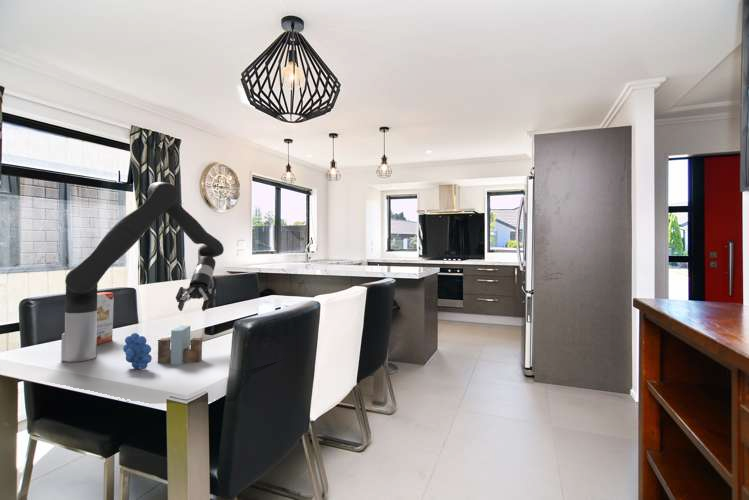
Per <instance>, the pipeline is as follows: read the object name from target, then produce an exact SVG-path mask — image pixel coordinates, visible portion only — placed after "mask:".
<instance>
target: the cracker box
mask: <svg viewBox="0 0 749 500" xmlns="http://www.w3.org/2000/svg"><path fill="white" fill-rule="evenodd" d="M114 299H115V292H108V291H107V292H106V291H105V292H104V291H103V292H97V342H96V345H98V344H99V345H100V344H103V343H107V342H111V341H113V329H114V303H115V300H114Z"/></svg>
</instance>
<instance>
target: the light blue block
mask: <svg viewBox="0 0 749 500" xmlns="http://www.w3.org/2000/svg"><path fill="white" fill-rule="evenodd" d="M170 332H171V333H170V334H171V336H170V349H171V363H170V365H171V366H173V365H174V366H177V365H178V366H179V365H182V364H184V362H183V350H185V349H191V325H179V326H177V327H175V328H173V329H171V331H170Z"/></svg>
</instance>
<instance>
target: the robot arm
mask: <svg viewBox="0 0 749 500" xmlns="http://www.w3.org/2000/svg"><path fill="white" fill-rule="evenodd" d="M178 199H179V190H178V188H177V187H176V186H175V185H174V184H172V183H170V182H164V181H156V182H153V183H151V184H150V185H149V186H148V189H147V199H146V200H145V201H144V202H143V203H142V204H141V205H140V206H139V207H138V208H136V209H135V210H133V211H132V212H130V213H128V214H126V216H124V217H122V218H121V219H120V220H119V221H118V222H117V223H115V224H114V226H112V227H111V229H110V230H109V231H108V232H107V233H106V234H105V235H104V237H103V238H102V240H100V242H99V243H98V245H97V247H95V249H94V250H93V252H91V254H90V255H89V256H88V257H86V259H84V260H83V261H82V262H81V263H79V265H77V266H76V267H75V268H73V269H70V271H69V272H68V273H67V274H66V276H65V283H64V284H65V306H64V332H63V333H61V350H60V351H61V353H60V361H61V362H68V363H77V362H78V363H79V362H84V361H89V360H93V359H95V358H96V357H97V344H96V342H97V293H98V283H99V281H100V280H101V279H102V278H103V276H104V275H105V274H106V272H107V271H108V270H109V269H110V267H111V266H112V265H114V264H115V263H116V262H117V261H118V260H120V258H121V257H123V256H124V255H125V254H126V253H127V252H128V251H129V250H130V249H131V248H133V246H134V245H135V244H136V243H137V242H138V241H139V240H140V239H141V238H142V236H143V235H144V234H145V233H147V231H148V230H149V229H150V227H151V226H152V225H153V224H154V223H155V222H156V220H158V218H160V216H161V215H163V213H166V214H167V215H168V216H169V217H170V218H171V219H172V220H173V221H174V222H175V223H176V224H177V226H178V227H179V228H180V229H181V230H182V231H183V233H184V234H185V235H186V236H187V237H188V238H189V239H190V240H191V242H193V244H195V245H200V246H199V247H198V251H197V259H198V262H197V263H196V266H195V269H194V270H193V271H194V272H192V276H191V279H190V282H189V286H188V287H187V288H184V287H183V286H181V287H179V289H178V291H177V294H176V296H175V300H176V302H177V304H178V305H177V309H178V310H179V311H180V312H182V311H183V309H184V307H185V303H186V302H188V301H190V300H193V299H197V300H199V299H203V301H202V302H203V303H202V306H201V310H202V311H203V312H205V311H206V310H208V306H209V304H210V303H215V300H216V295H217V290H216V287H215V286H214V287H213V286H212V288H210V287H211V283H212V280H213V278H214V277H213V276H214V272H215V266H216V259H215V258H216V257H220V256H222V254H223V253H224V250H225V249H224V245H223V244H222V242H221V241H220V240H219V239H217V238H216V237H215V236H213V235H211V234H210V233H208V232H207V231H206V229H205V228H204V227H203V226H202V225H201V224H200V222H199V221H198V220H197V219H196V218H195V217H193V216H192V215H191V214H190V213H189V212H188V211H187V210H185V209H184V207H183V206H182V205H181V204H180V203H179V202H178ZM208 294H210V297H208V296H207V295H208Z"/></svg>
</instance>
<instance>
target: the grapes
mask: <svg viewBox="0 0 749 500" xmlns="http://www.w3.org/2000/svg"><path fill="white" fill-rule="evenodd" d="M147 341H148V340H147V338H146V337H145V336H143V335H140V334H138V333H137V332H133V333H131V334H130V335H129V336H128V335H127V336H126V337H125V338H124V346H122V350H123V352H124V353H125V361H126V362H127V363H129V364H130V363H131V368H133V369H135V370H138V369H140V370H146V369H147V368H148V364H149V363H151V362H152V360H153V357H152V355H151V354H150V353H151V352H152V347H151V345H149V344H148V343H147Z"/></svg>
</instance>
